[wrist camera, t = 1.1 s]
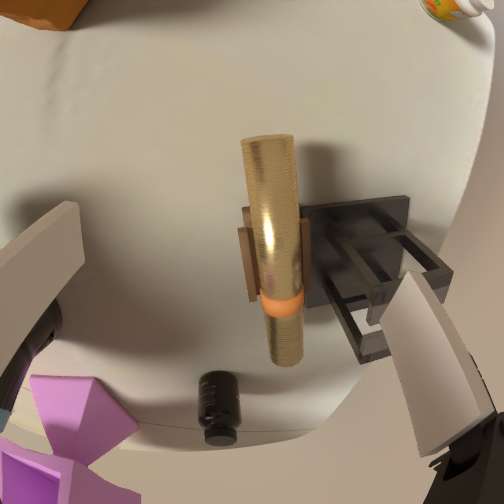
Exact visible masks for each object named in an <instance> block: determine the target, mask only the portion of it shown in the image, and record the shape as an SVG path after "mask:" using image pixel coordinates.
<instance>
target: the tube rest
mask: <svg viewBox="0 0 504 504" xmlns="http://www.w3.org/2000/svg"><path fill="white" fill-rule="evenodd" d="M242 213H243V220H244V226H245V227H242V228H238V235H239V241H240V247H241V253H242V259H243V265H244V271H245V277H246V283H247V289H248V295H249V301H250V302H255V301H257V295H260V294H261V293H260V288H261V285H260V278H259V271H258V263H257V256H256V248H255V241H254V234H253V226H252V219H251V212H250V206H249V207H242ZM300 235H301V256H302V283H303V286H304V293H306V292H311V243H310V221H309V220H308V219H307V218H301V219H300Z"/></svg>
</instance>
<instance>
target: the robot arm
mask: <svg viewBox="0 0 504 504" xmlns="http://www.w3.org/2000/svg"><path fill="white" fill-rule="evenodd" d="M84 262H85V256H84V249H83V241H82V232H81V222H80V210H79V203H76V202H71V201H63V202H62V203H60V204H59V205H58V206H56V207H55V208H53V209H52V210H51V211H49V212H48V213H46V214H45V215H44V216H42V217H41V218H40V219H38V220H37V221H36V222H34V223H33V224H32V225H31V226H29V227H28V228H27V229H25V230H24V231H23V232H22V233H20V234H19V235H18V236H17V237H16V238H14V239H13V240H12V241H11V242H10V243H8V244H7V245H6V246H5V247H4V248H3V249H2V250H0V433H1V432H3V430H4V428H5V426H6V424H7V421H8V419H9V417H10V416H11V415H12V409H13V406H14V403H15V400H16V398H17V395H18V392H19V390H20V387H21V385H22V382H23V380H24V378H25V375H26V373H27V371H28V368H29V366H30V364H31V362H32V360H33V358H34V357H35V356H36V355H38V354H39V353H40V352H41V351H42V350H43V349H44V348H45V347H47V346H48V345H49V344H50V343H51V342H52V341H53V340H54V339H55V337H56V335H57V333H58V331H59V329H60V327H61V322H62V318H61V312H60V309H59V306H58V304H57V302H56V300H55V297H56V296H57V295H58V293H59V292H60V291H61V290H62V288H63V287H64V286H65V285H66V284H67V282H68V281H69V280H70V279H71V278H72V276H73V275H74V274H75V273H76V272H77V271H78V269H79V268H80V267H81V266H82V265H83V264H84ZM379 322H380V324H381V327H382V330H383V332H384V335H385V338H386V341H387V343H388V346H389V349H390V352H391V355H392V358H393V361H394V364H395V367H396V370H397V373H398V376H399V379H400V383H401V386H402V389H403V393H404V396H405V399H406V403H407V406H408V410H409V413H410V417H411V421H412V425H413V429H414V433H415V437H416V441H417V445H418V450H419V455H420V457H424V456H428V455H433V454H436V453H438V452H439V451H441V450H442V449H444V448H445V447H447V446H449V449H450V450H449V451H448V452H447V453H445V454H443V455H442V456H440V457H438V458H437V459H435V460H433V461H432V462H431V463H430V465H429V467H432V466H434V465H436V464H438V463H439V462H441V464H439V465H438V466H436V467H435V468H434V470H435V471H437V474H436V476H435V479H434V481H433V483H432V486H431V488H430V490H429V492H428V494H427V497H426V499H425V500H424V502H423V504H504V412H500V413H499V414H498V413H497V411H496V409H495V406H494V404H493V401H492V399H491V396H490V394H489V392H488V389H487V387H486V385H485V383H484V380H483V379H481V378H482V376H481V374H480V372H479V370H477V365H476V363H475V361H474V359H473V357H472V356H471V355H470V353H469V352H468V351H467V349H466V347H465V345H464V343H463V341H462V339H461V338H460V336H459V334H458V332H457V330H456V328H455V327H454V325H453V323H452V321H451V320H450V318H449V316H448V314H447V313H446V311H445V309H444V308H443V307H442V305H441V303H440V301H439V300H438V298H437V296H436V295H435V293H434V292H433V290H432V289H431V287H430V286H429V284H428V282H427V281H426V279H425V278H424V276H423V275H422V274H421V273H417V272H413V271H409V270H408V271H407V273H406V275H405V277H404V279H403V280H402V282H401V284H400V286H399V288H398V289H397V291H396V293H395V295H394V296H393V298H392V300H391V302H390V303H389V305H388V307H387V308H386V310H385V312H384V313H383V315H382V316H381V318H380V320H379ZM0 504H2V502H1V499H0Z"/></svg>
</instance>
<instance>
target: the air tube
mask: <svg viewBox="0 0 504 504" xmlns="http://www.w3.org/2000/svg"><path fill="white" fill-rule="evenodd" d="M241 147H242V154H243V161H244V168H245V175H246V183H247V190H248V197H249V204H250V212H251V219H252V226H253V234H254V241H255V248H256V256H257V263H258V271H259V278H260V285H261V288H260V293H261V301H262V308H263V310H264V315H265V323H266V330H267V338H268V346H269V353H270V359H271V360H272V362H273V363H274V364H276V365H278V366H281V367H290V366H294V365H296V364H297V363H299V362H300V361H301V359H302V358H303V306H304V286H303V283H302V256H301V235H300V217H299V201H298V187H297V173H296V161H295V150H294V139H293V135H286V134H279V135H265V136H257V137H251V138H247V139H243V140H241Z"/></svg>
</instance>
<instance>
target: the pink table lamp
mask: <svg viewBox="0 0 504 504" xmlns="http://www.w3.org/2000/svg"><path fill="white" fill-rule="evenodd" d="M29 383H30V387H31V390H32V394H33V397H34V401H35V404H36V407H37V410H38V413H39V416H40V419H41V422H42V424H43V427H44V430H45V432H46V435H47V437H48V439H49V442H50V445H51V447H52V449H53V455H48V454H43V453H39V452H35V451H31V450H28V449H24V448H22V447H20V446H18V445H17V444H15V443H13V442H11V441H9V440H7V439H4V438H2V437H0V499H1V502H2V504H141V494H139V493H136V492H134V491H132V490H129V489H125V488H121V487H118V486H116V485H114V484H111V483H109V482H108V481H106V480H104V479H103V478H101V477H100V476H98V475H97V474H96V473H94V472H93V471H91V470H90V469H88V465H90V464H91V463H93V462H94V461H95V460H97V459H98V458H100V457H101V456H102V455H104V454H105V453H107V452H108V451H110V450H111V449H112V448H114V447H115V446H116V445H118V444H119V443H121V442H122V441H123V440H125V439H126V438H127V437H129V436H130V435H131V434H133V433H134V432H135V431H137V430H138V425H139V423H138V422H137V421H135V420H134V419H133V418H132V417H131V416H130V415H129V414H128V413H127V412H126V411H125V410H124V409H123V408H122V407H121V406H120V405H119V404H118V403H117V401H116V400H115V399H114V398H113V397H112V396H111V395H110V394H109V393H108V392H107V391H106V390H105V389H104V387H103V386H102V385H101V384H100V383H99V382H98V381H97V379H96V378H95V377H70V376H45V375H31V376H30V378H29Z"/></svg>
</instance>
